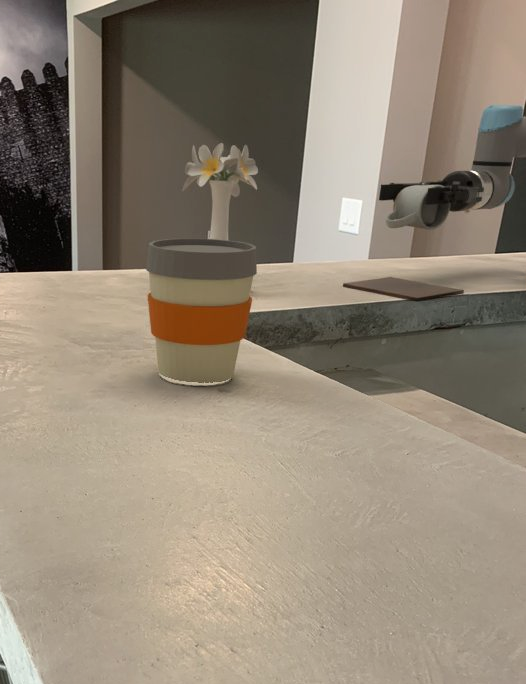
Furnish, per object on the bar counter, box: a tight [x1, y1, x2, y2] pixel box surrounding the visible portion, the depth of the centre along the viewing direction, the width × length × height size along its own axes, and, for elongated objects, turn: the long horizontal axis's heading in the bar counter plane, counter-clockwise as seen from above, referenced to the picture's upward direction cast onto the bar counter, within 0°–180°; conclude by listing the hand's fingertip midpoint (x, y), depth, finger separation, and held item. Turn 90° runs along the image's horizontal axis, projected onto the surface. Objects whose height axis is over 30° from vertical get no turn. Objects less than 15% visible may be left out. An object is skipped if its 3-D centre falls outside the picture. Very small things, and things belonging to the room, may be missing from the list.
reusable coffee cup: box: [145, 237, 258, 387], centre depth 89 cm, size 12×13×15 cm
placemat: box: [342, 276, 465, 302], centre depth 148 cm, size 17×15×1 cm
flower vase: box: [181, 142, 259, 240], centre depth 137 cm, size 13×18×25 cm
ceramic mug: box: [385, 185, 451, 230], centre depth 143 cm, size 11×8×8 cm
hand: (404, 194), depth 139 cm, fingers closed on ceramic mug, 9 cm apart
